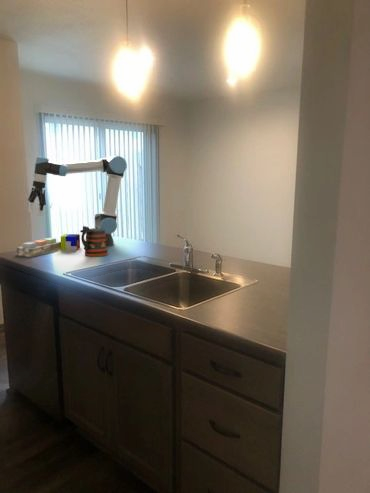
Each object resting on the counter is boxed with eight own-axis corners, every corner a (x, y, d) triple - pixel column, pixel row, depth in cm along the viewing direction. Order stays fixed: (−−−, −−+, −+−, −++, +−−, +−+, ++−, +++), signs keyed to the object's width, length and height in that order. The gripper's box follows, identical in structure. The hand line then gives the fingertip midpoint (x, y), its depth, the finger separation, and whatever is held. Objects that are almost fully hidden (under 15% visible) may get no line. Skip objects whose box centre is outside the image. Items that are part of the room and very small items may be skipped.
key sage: (56, 244, 262) (56, 238, 261) (50, 245, 257) (49, 239, 256) (49, 243, 264) (49, 237, 264) (43, 244, 259) (42, 239, 258)
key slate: (37, 248, 246) (36, 242, 245) (30, 250, 240) (29, 244, 240) (29, 248, 248) (29, 241, 247) (22, 249, 243) (22, 243, 242)
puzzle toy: (75, 251, 258) (75, 236, 256) (61, 250, 258) (60, 236, 256) (80, 248, 268) (79, 234, 266) (66, 248, 268) (65, 234, 266)
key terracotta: (46, 246, 254) (46, 240, 253) (40, 248, 248) (40, 242, 248) (39, 245, 256) (39, 239, 255) (33, 247, 251) (32, 241, 250)
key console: (61, 249, 263) (61, 242, 263) (31, 257, 238) (31, 249, 237) (48, 247, 268) (47, 240, 267) (17, 255, 243) (16, 247, 242)
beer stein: (92, 259, 235) (91, 227, 231) (75, 256, 242) (73, 225, 238) (112, 254, 251) (111, 224, 248) (95, 251, 258) (94, 222, 254)
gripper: (25, 178, 251) (21, 210, 253) (42, 182, 234) (38, 216, 237) (36, 180, 256) (32, 211, 259) (54, 184, 240) (49, 217, 242)
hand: (35, 213), depth 248 cm, fingers open, 13 cm apart
